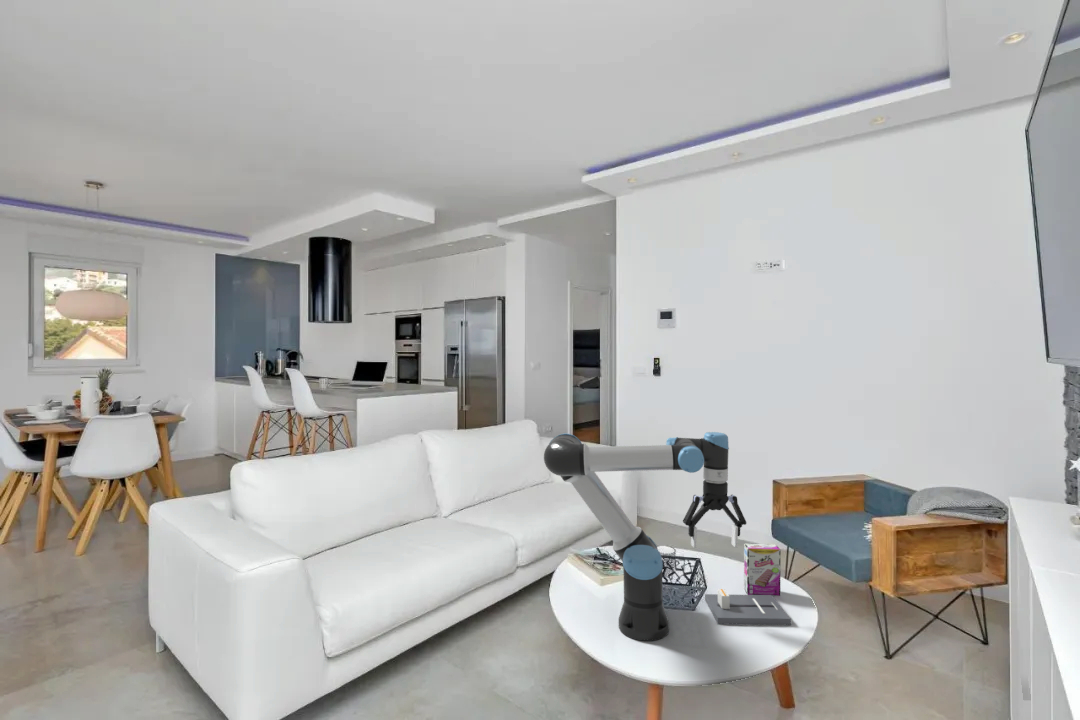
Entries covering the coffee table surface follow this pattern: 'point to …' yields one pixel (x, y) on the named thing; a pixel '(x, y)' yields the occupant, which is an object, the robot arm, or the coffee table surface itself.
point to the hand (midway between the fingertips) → (714, 546)
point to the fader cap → (723, 599)
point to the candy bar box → (762, 569)
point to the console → (748, 610)
